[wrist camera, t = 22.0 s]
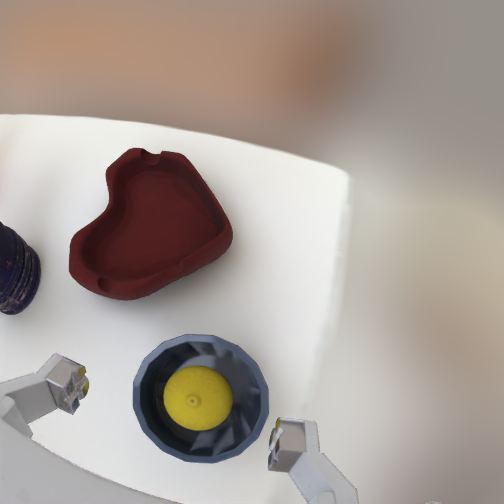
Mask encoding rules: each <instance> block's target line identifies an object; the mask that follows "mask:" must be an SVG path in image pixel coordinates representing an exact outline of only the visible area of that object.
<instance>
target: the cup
mask: <svg viewBox="0 0 504 504" xmlns="http://www.w3.org/2000/svg"><path fill="white" fill-rule="evenodd" d="M194 365H200V366H207V367H209V368H212V369H214V370H216V371H217V372H219V373H220V374H221V375H222V376H223V377H224V378H225V379H226V380H227V382H228V383H229V385H230V387H231V391H232V395H233V404H232V408H231V411H230V413H229V415H228V416H227V418H226V419H225V420H224V421H223V422H222V423H221V424H220V425H218V426H216V427H214V428H212V429H208V430H191V429H187V428H185V427H183V426H181V425H179V424H178V423H177V422H175V421H174V420H173V419H172V418H171V416H170V415H169V414H168V412H167V410H166V407H165V405H164V397H163V395H164V389H165V386H166V384H167V382H168V380H169V379H170V377H171V376H172V375H173V374H174V373H176V372H177V371H178V370H180V369H182V368H185V367H187V366H194ZM133 409H134V411H135V414H136V416H137V419H138V421H139V424H140V426H141V428H142V430H143V432H144V433H145V434H146V435H147V436H148V437H149V438H150V439H151V440H152V441H153V442H154V443H155V444H156V445H157V446H158V447H159V448H160V449H161V450H162V451H164V452H166V453H168V454H170V455H172V456H174V457H176V458H179V459H181V460H183V461H185V462H186V461H187V462H195V463H217V462H220V461H223V460H226V459H229V458H232V457H235V456H238V455H240V454H241V453H242V452H243V451H244V450H245V449H246V448H248V447H249V446H250V445H251V444H252V443H253V442H254V441H255V440H256V439H258V437H259V435H260V433H261V431H262V429H263V426H264V424H265V422H266V420H267V417H268V414H269V389H268V386H267V384H266V382H265V379H264V377H263V375H262V373H261V371H260V368H259V366H258V365H257V363H256V362H255V361H254V360H253V359H252V358H251V357H250V356H249V355H247V354H246V353H245V352H244V351H243V350H242V349H241V348H240V347H239V346H238V345H236V344H233V343H231V342H228V341H226V340H224V339H221V338H219V337H217V336H213V335H198V334H185V335H182V336H180V337H177V338H174V339H171V340H168V341H165V342H163V343H161V344H160V345H159V346H158V347H157V348H156V349H154V350H153V351H152V352H151V353H150V354H149V355H148V356H147V357H145V358H144V360H143V362H142V364H141V366H140V368H139V370H138V372H137V375H136V377H135V379H134V382H133Z"/></svg>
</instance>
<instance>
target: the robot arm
mask: <svg viewBox="0 0 504 504" xmlns="http://www.w3.org/2000/svg"><path fill="white" fill-rule="evenodd" d="M85 373H86V369H85V366H83V365H80V364H78V363H76V362H74V361H72V360H70V359H68V358H66V357H64V356H61V355H59V354H57V353H56V354H53V355H52V356H51V357H50V359H49V360H48V361H47V362H46V363H45V364H44V365H43V366H42V367H41V368H40V370H39V371H38V372H37V373H36V374H35V373H31V374H28V375H25V376H21V377H18V378H15V379H12V380H8V381H5V382H1V383H0V504H182V503H178V502H174V501H170V500H166V499H163V498H160V497H156V496H153V495H150V494H147V493H144V492H141V491H138V490H135V489H132V488H129V487H126V486H124V485H121V484H118V483H116V482H113V481H111V480H109V479H106V478H104V477H101V476H99V475H97V474H95V473H92V472H90V471H88V470H86V469H84V468H82V467H80V466H78V465H76V464H74V463H72V462H70V461H68V460H66V459H64V458H62V457H61V456H59V455H57V454H55V453H53V452H52V451H50V450H48V449H46V448H45V447H43V446H41V445H40V444H38V443H37V442H35V441H33V440H32V439H30V438H31V437H32V435H33V433H32V431H31V429H30V427H29V426H28V423H30V422H32V421H34V420H36V419H38V418H40V417H42V416H44V415H46V414H48V413H50V412H52V411H54V410H56V409H57V408H59V409H61V410H63V411H66V412H68V413H70V414H72V415H73V414H74V413H75V411H76V410H77V408H78V407H79V405H80V404H79V400H81V399H83V398H85V396H86V394H87V392H88V389H89V381H88V379H87V377H86V376H85ZM269 450H270V451H271V453H270V455H269V457H268V470H269V471H277V472H287V473H288V474H289V475H290V477H291V479H292V480H293V481H294V483H295V485H296V486H297V488H298V489H299V491H300V492H301V494H302V495H303V497H304V498H305V500H306V501H307V504H359V502H358V495H357V489H356V488H355V487H354V486H353V485H352V484H351V483H350V482H349V481H348V480H347V479H346V478H345V476H344V475H343V474H342V473H341V472H340V471H339V470H338V469H337V468H336V466H335V465H334V464H333V463H332V462H331V461H330V460H329V459H328V458H327V456H326V455H325V454H324V453H320V447H319V437H318V429H317V423H316V422H315V421H308V420H299V419H289V418H278V419H277V421H276V427H275V428H273V430H272V433H271V436H270V441H269ZM421 504H442V503H440V502H438V501H429V502H425V503H421Z"/></svg>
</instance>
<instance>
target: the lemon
mask: <svg viewBox="0 0 504 504" xmlns="http://www.w3.org/2000/svg"><path fill="white" fill-rule="evenodd" d="M163 397H164V405H165V407H166V410H167V412H168V414H169V415H170V416H171V418H172V419H173V420H174V421H175V422H177V423H178V424H179V425H181V426H183V427H185V428H187V429H191V430H208V429H212V428H214V427H216V426H218V425H220V424H221V423H222V422H223V421H224V420H225V419H226V418H227V416H228V415H229V413H230V411H231V408H232V404H233V395H232V391H231V387H230V385H229V383H228V382H227V380H226V379H225V378H224V377H223V376H222V375H221V374H220V373H219V372H217V371H216V370H214V369H212V368H209V367H207V366H200V365H194V366H187V367H185V368H182V369H180V370H178V371H177V372H176V373H174V374H173V375H172V376H171V377H170V379H169V380H168V382H167V384H166V386H165V389H164V395H163Z"/></svg>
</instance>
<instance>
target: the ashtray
mask: <svg viewBox="0 0 504 504" xmlns="http://www.w3.org/2000/svg"><path fill="white" fill-rule="evenodd" d="M106 182H107V186H108V191H109V203H108V206H107V208H106V209H105V211H104V212H103V213H102V214H101V215H100V216H99V217H98V218H96V219H95V220H94V221H92V222H91V223H90V224H88V225H87V226H85V227H84V228H82V229H81V230H79V231H78V232H77V233H76V234H75V235H74V236H73V238H72V240H71V243H70V254H69V272H70V274H71V276H72V277H73V278H74V279H75V280H76V281H77V282H78V283H79V284H80V285H82V286H83V287H84V288H86V289H88V290H89V291H92V292H94V293H96V294H99V295H102V296H105V297H108V298H112V299H117V300H134V299H139V298H142V297H145V296H148V295H150V294H152V293H154V292H156V291H158V290H159V289H161V288H163V287H165V286H166V285H168V284H170V283H172V282H174V281H176V280H178V279H180V278H182V277H184V276H186V275H188V274H190V273H192V272H194V271H196V270H197V269H199V268H201V267H203V266H205V265H207V264H209V263H211V262H213V261H214V260H216V259H217V258H219V257H220V256H221V255H222V254H224V253H225V252H226V250H227V249H228V248H229V247H230V245H231V242H232V239H233V231H232V227H231V224H230V222H229V220H228V218H227V216H226V214H225V213H224V211H223V209H222V207H221V206H220V204H219V202H218V201H217V199H216V197H215V196H214V194H213V193H212V191H211V190H210V188H209V187H208V185H207V184H206V182H205V181H204V180H203V178H202V177H201V175H200V174H199V173H198V171H197V170H196V169H195V167H194V166H193V165H192V163H191V162H190V161H189V160H188V159H187V158H186V157H185V156H184V155H182V154H180V153H175V152H169V151H162V152H161V154H152V153H149V152H148V151H146V150H145V149H143V148H132V149H129V150H127V151H126V152H125V153H124V154H122V155H121V156H120V157H119V158H118V159H117V160H116V161H115V162H113V163H112V164H111V165H110V166H109V167H108V168H107V170H106Z"/></svg>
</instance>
